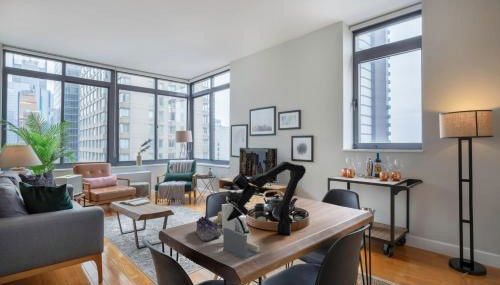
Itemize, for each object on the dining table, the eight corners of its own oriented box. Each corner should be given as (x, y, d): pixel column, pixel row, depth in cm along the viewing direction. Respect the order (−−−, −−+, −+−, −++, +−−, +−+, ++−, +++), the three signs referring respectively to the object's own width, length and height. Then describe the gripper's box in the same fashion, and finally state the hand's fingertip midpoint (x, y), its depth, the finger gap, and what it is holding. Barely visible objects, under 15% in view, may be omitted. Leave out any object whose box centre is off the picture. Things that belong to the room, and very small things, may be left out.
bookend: (238, 244, 130) (238, 223, 130) (259, 252, 120) (259, 230, 120) (223, 250, 122) (222, 228, 122) (244, 259, 113) (243, 236, 113)
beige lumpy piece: (208, 221, 150) (202, 218, 157) (213, 235, 151) (207, 231, 159) (224, 213, 156) (217, 210, 163) (228, 226, 157) (221, 222, 164)
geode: (188, 232, 148) (190, 214, 149) (208, 231, 154) (209, 214, 155) (201, 242, 130) (203, 222, 132) (222, 241, 136) (224, 221, 137)
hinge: (250, 232, 146) (244, 216, 145) (243, 236, 145) (237, 220, 143) (238, 224, 162) (233, 209, 160) (231, 227, 160) (226, 213, 158)
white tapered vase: (232, 230, 137) (232, 203, 137) (236, 233, 132) (235, 205, 131) (222, 231, 135) (221, 204, 134) (225, 235, 129) (224, 206, 129)
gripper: (230, 182, 143) (210, 204, 139) (241, 187, 126) (219, 213, 122) (243, 195, 146) (224, 218, 142) (257, 202, 129) (235, 228, 125)
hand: (225, 219), depth 132 cm, fingers closed on white tapered vase, 5 cm apart
